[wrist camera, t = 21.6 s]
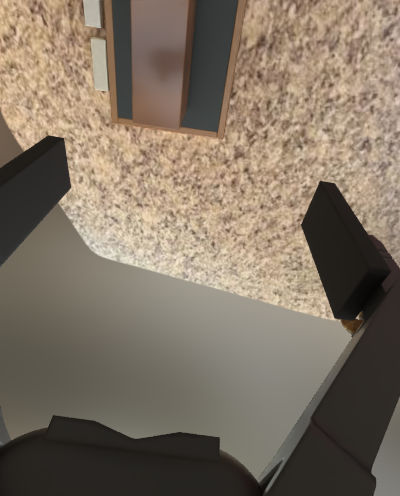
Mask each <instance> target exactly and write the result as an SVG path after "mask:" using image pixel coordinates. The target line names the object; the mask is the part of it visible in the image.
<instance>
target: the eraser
mask: <svg viewBox="0 0 400 496" xmlns="http://www.w3.org/2000/svg"><path fill="white" fill-rule="evenodd" d="M197 3H198V0H130V6H131V63H132V119H133V123H137V124H143V125H150V126H156V127H163V128H170V129H176V130H179V129H180V126H181V124H182V121H183V119H184V117H185V114H186V112H187V109H188V100H189V89H190V78H191V67H192V57H193V46H194V35H195V24H196V14H197Z"/></svg>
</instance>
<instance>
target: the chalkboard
mask: <svg viewBox="0 0 400 496" xmlns="http://www.w3.org/2000/svg"><path fill="white" fill-rule="evenodd" d="M246 1H247V0H198V3H197V14H196V24H195V35H194V46H193V57H192V67H191V78H190V89H189V100H188V109H187V112H186V114H185V117H184V119H183V121H182V124H181V126H180V129H179V130H176V129H170V128H163V127H156V126H150V125H143V124H137V123H133V119H132V63H131V6H130V0H104V10H105V25H106V41H107V56H108V72H109V87H110V102H111V118H112V123H115V124H122V125H129V126H136V127H143V128H149V129H156V130H163V131H170V132H176V133H183V134H190V135H197V136H203V137H210V138H217V139H223V136H224V130H225V124H226V118H227V113H228V107H229V101H230V95H231V89H232V83H233V77H234V71H235V65H236V60H237V54H238V48H239V42H240V36H241V30H242V24H243V18H244V13H245V7H246Z"/></svg>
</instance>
